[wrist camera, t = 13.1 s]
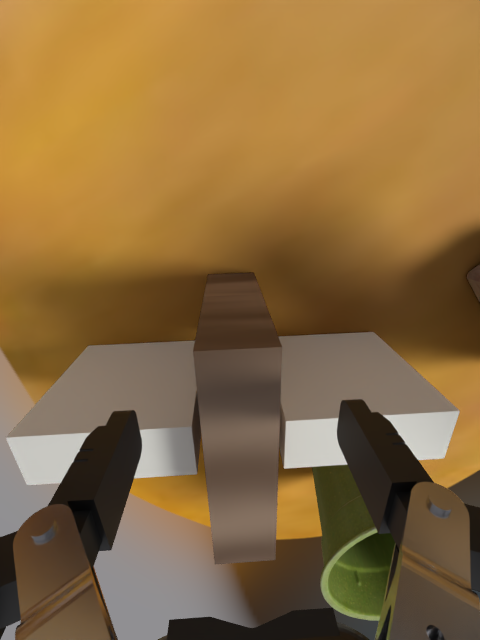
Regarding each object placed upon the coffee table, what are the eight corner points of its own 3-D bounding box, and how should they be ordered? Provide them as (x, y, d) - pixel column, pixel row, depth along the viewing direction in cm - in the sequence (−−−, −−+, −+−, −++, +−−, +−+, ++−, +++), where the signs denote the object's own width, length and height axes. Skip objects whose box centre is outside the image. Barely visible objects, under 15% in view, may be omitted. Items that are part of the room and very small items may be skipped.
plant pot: (389, 482, 33) (466, 616, 22) (284, 487, 32) (312, 625, 22) (415, 395, 28) (526, 513, 18) (292, 399, 28) (332, 522, 17)
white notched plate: (88, 345, 24) (5, 437, 15) (373, 331, 25) (459, 410, 16) (97, 381, 26) (27, 485, 16) (367, 366, 27) (444, 458, 17)
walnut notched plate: (208, 274, 22) (192, 351, 11) (253, 272, 23) (282, 346, 12) (218, 418, 28) (214, 564, 17) (255, 416, 28) (275, 559, 17)
